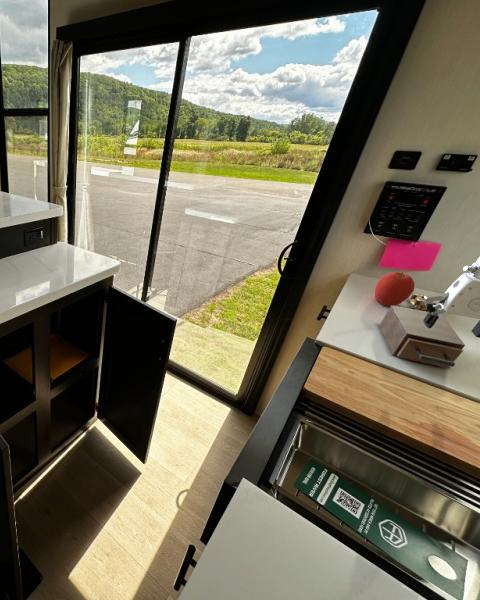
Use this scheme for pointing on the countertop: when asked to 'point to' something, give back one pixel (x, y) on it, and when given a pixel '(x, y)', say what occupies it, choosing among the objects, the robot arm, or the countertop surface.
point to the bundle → (418, 302)
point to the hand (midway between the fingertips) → (450, 329)
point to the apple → (394, 289)
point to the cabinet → (415, 328)
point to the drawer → (429, 352)
